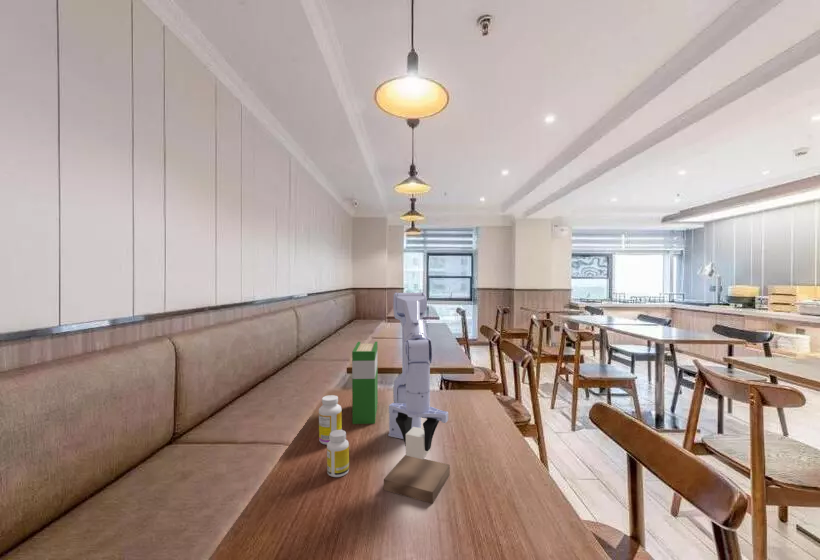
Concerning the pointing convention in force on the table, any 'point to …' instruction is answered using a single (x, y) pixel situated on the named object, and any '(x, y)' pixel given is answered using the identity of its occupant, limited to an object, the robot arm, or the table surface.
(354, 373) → the hardback book
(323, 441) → the supplement bottle
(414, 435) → the cream block
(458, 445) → the table surface
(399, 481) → the walnut block
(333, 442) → the supplement bottle
